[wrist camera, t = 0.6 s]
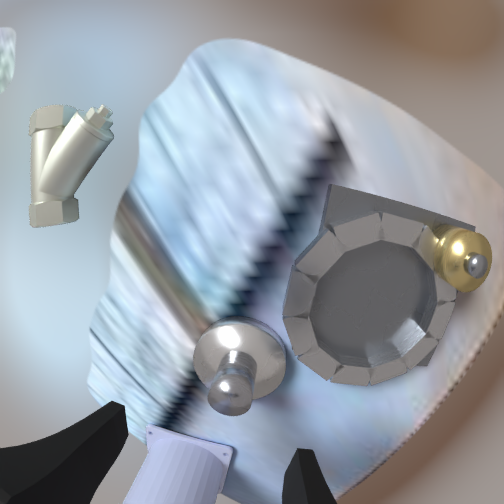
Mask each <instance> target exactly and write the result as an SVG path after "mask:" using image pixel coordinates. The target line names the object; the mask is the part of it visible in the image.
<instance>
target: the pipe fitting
mask: <svg viewBox="0 0 504 504" xmlns="http://www.w3.org/2000/svg"><path fill="white" fill-rule="evenodd" d="M112 113H113V112H112V110H111V109H109V108H108V107H107V106H105V105H101V107H100V108H99V109H97V108H95V107H91V108H90V110H89V111H88V112H85V111H82V110H77V109H76V108H74V107H72V106H68V105H50V106H45V107H42V108H39V109H37V110H35V111H34V112H33V114H32V115H31V117H30V125H29V135H30V136H31V137H32V139H31V203H32V204H30V205H29V217H30V225H31V226H32V227H34V228H35V227H46V226H53V225H60V224H66V223H70V222H74V221H76V220H78V219H79V209H78V200H77V199H76V198H74V193H75V192H76V190H77V189H78V187H79V186H80V184H81V183H82V181H83V180H84V178H85V177H86V175H87V174H88V172H89V171H90V170H91V168H92V167H93V165H94V164H95V163H96V161H97V160H98V158H99V157H100V156H101V154H102V153H103V151H104V150H105V149H106V147H107V146H108V145H109V144H110V142H111V141H112V140H113V138H114V135H113V133H112V132H111V130H110V129H109V128H110V127H111V126H112V124H113V122H112V120H111V118H110V116H111V115H112Z"/></svg>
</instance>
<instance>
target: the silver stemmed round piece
mask: <svg viewBox="0 0 504 504" xmlns="http://www.w3.org/2000/svg"><path fill="white" fill-rule="evenodd" d="M193 362H194V367H195V370H196V373H197V375H198V376H199V378H200V379H201V381H202V382H203V383H204V384H205V385H206V386H207V387H208V388H209V389H210V391H209V393H208V402H209V404H210V406H211V407H212V408H213V409H214V410H216V411H217V412H219V413H221V414H223V415H228V416H238V415H242V414H244V413H246V412H247V411H248V410H249V409H250V407H251V402H252V400H254V399H258V398H261V397H264V396H266V395H268V394H270V393H271V392H273V391H274V390H275V389H276V388H277V387H278V386H279V385H280V383H281V382H282V380H283V378H284V375H285V370H286V351H285V347H284V344H283V342H282V340H281V338H280V337H279V335H278V334H277V333H276V332H275V331H274V330H273V329H272V328H271V327H270V326H268V325H267V324H265V323H263V322H261V321H259V320H257V319H254V318H250V317H244V316H232V317H227V318H223V319H220V320H218V321H216V322H214V323H213V324H211V325H210V326H209V327H208V328H207V329H206V330H205V331H204V333H203V335H202V336H201V338H200V340H199V342H198V344H197V345H196V348H195V350H194V355H193Z"/></svg>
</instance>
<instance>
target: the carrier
mask: <svg viewBox="0 0 504 504" xmlns="http://www.w3.org/2000/svg"><path fill="white" fill-rule="evenodd" d="M475 228H476V227H475V226H472V225H470V224H467V223H464V222H461V221H458V220H455V219H452V218H450V217H447V216H444V215H441V214H437V213H434V212H431V211H428V210H425V209H422V208H419V207H415V206H412V205H409V204H405V203H402V202H398V201H395V200H391V199H388V198H384V197H381V196H377V195H373V194H369V193H366V192H362V191H358V190H354V189H350V188H346V187H342V186H337V185H333V184H329V186H328V191H327V196H326V201H325V206H324V211H323V216H322V220H321V225H320V229H319V234H318V236H317V237H316V238H315V239H314V240H313V241H312V242H311V243H310V245H309V246H308V247H307V248H306V249H305V250H304V251H303V252H302V253H301V254H300V255H299V257H298V258H297V259H296V260H295V265H292V269H291V273H290V278H289V282H288V286H287V290H286V295H285V299H284V303H283V314H282V315H283V322H284V324H285V327H286V330H287V333H288V336H289V339H290V342H291V345H292V350H294V353H295V356H297V355H298V360H300V361H301V362H302V363H304V364H305V365H306V366H308V367H309V368H310V369H312V370H313V371H314V372H316V373H317V374H318V375H320V376H321V377H322V378H324V379H325V380H326V381H327V380H328V379H330V382H333V383H342V384H351V385H361V386H367V385H368V383H369V381H370V384H371V385H374V384H377V383H380V382H383V381H386V380H388V379H391V378H394V377H396V376H399V375H402V374H404V373H407V367H408V368H409V369H410V370H411V369H412V368H413V367H415V366H416V365H418V366H427V365H428V363H429V361H430V359H431V357H432V355H433V352H434V350H435V348H436V346H437V344H438V341H439V339H442V336H443V334H444V331H445V329H446V327H447V324H448V322H449V319H450V317H451V314H452V311H453V309H454V306H455V302H454V301H455V299H456V295H457V292H458V290H459V291H461V292H471V291H473V290H475V289H477V288H478V287H479V286H480V285H481V284H482V283H483V282H484V281H485V279H486V278H487V276H488V274H489V271H490V268H491V263H492V251H491V247H490V244H489V242H488V240H487V239H486V238H485V237H484V236H483V235H482V234H479V233H476V232H475ZM406 366H407V367H406Z"/></svg>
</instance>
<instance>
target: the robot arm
mask: <svg viewBox="0 0 504 504" xmlns="http://www.w3.org/2000/svg"><path fill="white" fill-rule="evenodd" d="M127 437H128V428H127V421H126V413H125V406H124V405H121V404H119V403H116V402H114V401H111V402H109V403H108V404H106V405H104V406H103V407H101V408H100V409H98V410H97V411H95V412H94V413H92V414H91V415H89V416H87V417H86V418H84V419H83V420H81V421H79V422H77V423H75V424H74V425H72V426H70V427H68V428H66V429H64V430H62V431H60V432H58V433H56V434H53V435H51V436H48V437H46V438H43V439H40V440H37V441H34V442H31V443H27V444H23V445H19V446H13V447H6V448H0V504H90V502H91V500H92V498H93V495H94V493H95V491H96V490H97V488H98V486H99V485H100V483H101V482H102V480H103V479H104V477H105V475H106V474H107V472H108V471H109V469H110V468H111V466H112V465H113V463H114V462H115V460H116V459H117V457H118V455H119V454H120V452H121V450H122V448H123V446H124V444H125V441H126V439H127ZM146 437H147V447H148V455H147V457H146V459H145V461H144V463H143V465H142V467H141V468H140V470H139V472H138V474H137V476H136V478H135V480H134V482H133V484H132V486H131V488H130V490H129V492H128V494H127V496H126V498H125V500H124V502H123V503H122V504H215V502H216V498H217V494H218V493H221V492H222V489H223V486H224V482H225V478H226V475H227V471H228V467H229V464H230V460H231V456H232V453H233V449H232V448H231V447H230V446H226V445H221V444H217V443H213V442H209V441H205V440H201V439H197V438H194V437H190V436H187V435H183V434H180V433H176V432H173V431H170V430H167V429H164V428H161V427H158V426H155V425H152V424H148V425H147V426H146ZM282 504H337V503H336V501H335V499H334V497H333V495H332V493H331V491H330V489H329V487H328V485H327V483H326V481H325V479H324V477H323V474H322V472H321V470H320V467H319V465H318V462H317V459H316V456H315V454H314V451H313V450H310V449H300V448H297V450H296V452H295V454H294V456H293V458H292V460H291V462H290V464H289V466H288V468H287V470H286V472H285V476H284V483H283V492H282Z"/></svg>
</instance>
